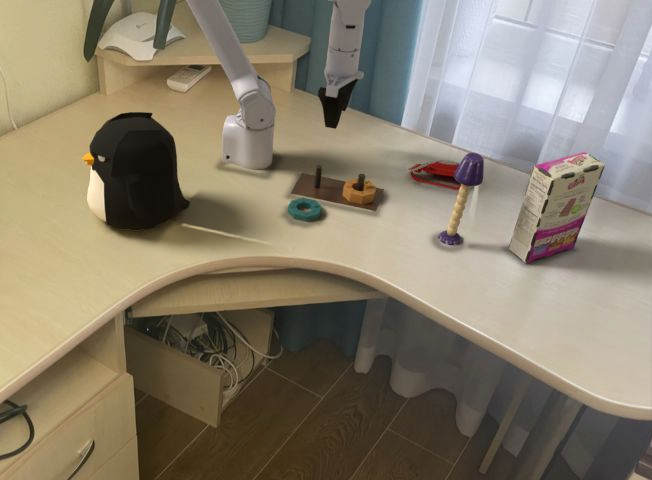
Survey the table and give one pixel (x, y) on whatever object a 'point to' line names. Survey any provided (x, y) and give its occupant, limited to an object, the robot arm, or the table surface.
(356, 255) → the table surface
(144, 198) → the penguin
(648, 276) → the table surface
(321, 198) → the peg rack
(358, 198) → the ochre ring
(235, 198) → the table surface
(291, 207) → the teal ring
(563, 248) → the candy bar box
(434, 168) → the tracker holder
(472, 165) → the toy lamp
